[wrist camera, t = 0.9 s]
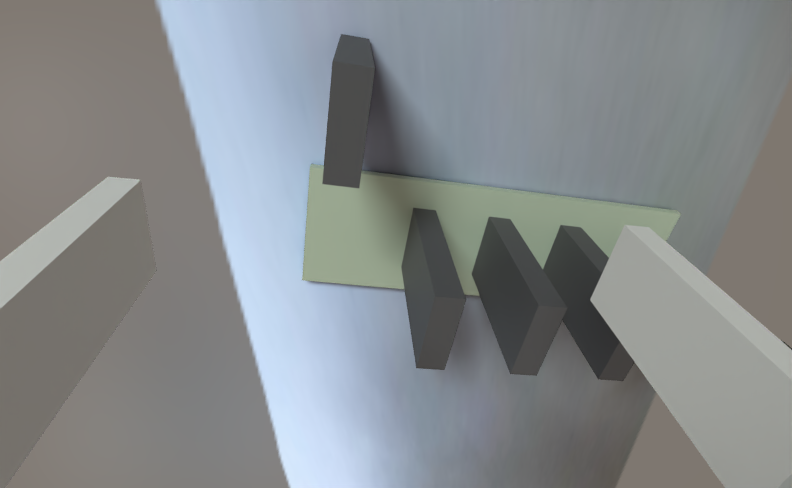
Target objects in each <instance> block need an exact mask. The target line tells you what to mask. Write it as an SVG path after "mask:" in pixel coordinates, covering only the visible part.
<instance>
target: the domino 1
mask: <svg viewBox="0 0 792 488" xmlns="http://www.w3.org/2000/svg"><path fill="white" fill-rule="evenodd" d="M374 73H375V65H374V60H373V55H372V50H371V46H370V41H369V39H366V38H360V37H354V36H349V35H343V34H341V37H340V40H339V43H338V46H337V49H336V53H335V56H334V59H333V64H332V76H331V88H330V100H329V111H328V123H327V135H326V147H325V159H324V170H323V182H322V184H326V185H334V186H342V187H351V188H359V187H360V179H361V172H362V164H363V156H364V149H365V141H366V134H367V126H368V118H369V111H370V103H371V96H372V88H373V80H374Z"/></svg>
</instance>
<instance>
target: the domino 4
mask: <svg viewBox="0 0 792 488" xmlns="http://www.w3.org/2000/svg"><path fill="white" fill-rule="evenodd" d="M608 260H609V257H608V256H607V255H606V254H605V253H604V252H603V251H602V250H601V249H600V248H599V247H598V245H597V244H596V243H595V242H594V241H593V240H592V239H591V238H590V237H589V236H588V234H587V233H586V232H585V231H584V230H583V229H582V228H581V227H574V226H566V225H560V228H559V230H558V233H557V235H556V238H555V240H554V243H553V245H552V248H551V250H550V253H549V255H548V258H547V260H546V263H545V265H544V268H543V271H544V272H545V274H546V275H547V277H548V278H549V280H550V281H551V283H552V285H553V286H554V288H555V289H556V291H557V292H558V294H559V295H560V297H561V299H562V300H563V302H564V303H565V305H566V306H567V311H566V313H565V315H564V317H563V319H562V320H563V322H564V323H565V325H566V327H567V328H568V330H569V332H570V333H571V335H572V337H573V338H574V340H575V342H576V343H577V345H578V346H579V348H580V350H581V351H582V353H583V355H584V356H585V358H586V360H587V361H588V363H589V365H590V366H591V368H592V370H593V371H594V373H595V374H596V376H597V378H598V379H601V380H617V381H623V380H624V378H625V377H626V375H627V373H628V372H629V370H630V369H631V367H632V365H633V364H634V360H633V359H632V358H631V356H630V355H629V353H628V352H627V351H626V349H625V348H624V346H623V345H622V344H621V342H620V341H619V339H618V338H617V337H616V335H615V334H614V333H613V331H612V330H611V328H610V327H609V326H608V324H607V323H606V321H605V320H604V319H603V317H602V316H601V314H600V313H599V312H598V310H597V309H596V307H595V306H594V305H593V303H592V302H591V300H590V299H591V297H592V294H593V292H594V290H595V288H596V286H597V284H598V281H599V279H600V277H601V275H602V273H603V271H604V268H605V266H606V264H607V262H608Z"/></svg>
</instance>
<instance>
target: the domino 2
mask: <svg viewBox="0 0 792 488" xmlns="http://www.w3.org/2000/svg"><path fill="white" fill-rule="evenodd" d="M401 269H402V276H403V282H404V289H405V295H406V302H407V309H408V315H409V322H410V329H411V335H412V342H413V348H414V355H415V362H416V368H423V369H439V370H445V366H446V363H447V360H448V357H449V353H450V350H451V347H452V344H453V340H454V337H455V334H456V331H457V327H458V324H459V321H460V318H461V314H462V311H463V308H464V305H465V301H466V297H465V294H464V292H463V289H462V286H461V283H460V280H459V277H458V274H457V271H456V268H455V265H454V262H453V259H452V256H451V253H450V250H449V248H448V245H447V242H446V239H445V236H444V233H443V230H442V227H441V224H440V221H439V218H438V215H437V212H436V210H429V209H421V208H413V212H412V217H411V222H410V227H409V232H408V237H407V241H406V246H405V251H404V256H403V261H402V266H401Z"/></svg>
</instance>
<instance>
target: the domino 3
mask: <svg viewBox="0 0 792 488" xmlns="http://www.w3.org/2000/svg"><path fill="white" fill-rule="evenodd" d="M472 277H473V279H474V282H475V284H476V287H477V289H478V292H479V295H480V297H481V300H482V302H483V305H484V307H485V310H486V313H487V315H488V318H489V320H490V323H491V325H492V328H493V330H494V333H495V336H496V338H497V341H498V343H499V346H500V348H501V351H502V354H503V356H504V359H505V361H506V364H507V366H508V369H509V372H510V374H520V375H536V376H537V374H538V371H539V369H540V367H541V365H542V363H543V361H544V358H545V356H546V354H547V352H548V350H549V347H550V345H551V343H552V341H553V339H554V337H555V334H556V332H557V330H558V328H559V326H560V324H561V321H562V319H563V317H564V315H565V313H566V311H567V306H566V305H565V303H564V302H563V300H562V299H561V297H560V295H559V294H558V292H557V291H556V289H555V288H554V286H553V285H552V283H551V281H550V280H549V278H548V277H547V275H546V274H545V272H544V271H543V269H542V268H541V266H540V264H539V263H538V261H537V260H536V258H535V257H534V255H533V254H532V252H531V250H530V249H529V247H528V246H527V244H526V243H525V241H524V240H523V238H522V236H521V235H520V233H519V232H518V230H517V229H516V227H515V226H514V224H513V223H512V221H511V219H506V218H498V217H489V218H488V221H487V225H486V228H485V231H484V235H483V238H482V241H481V244H480V248H479V251H478V254H477V258H476V261H475V264H474V267H473V271H472Z"/></svg>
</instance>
